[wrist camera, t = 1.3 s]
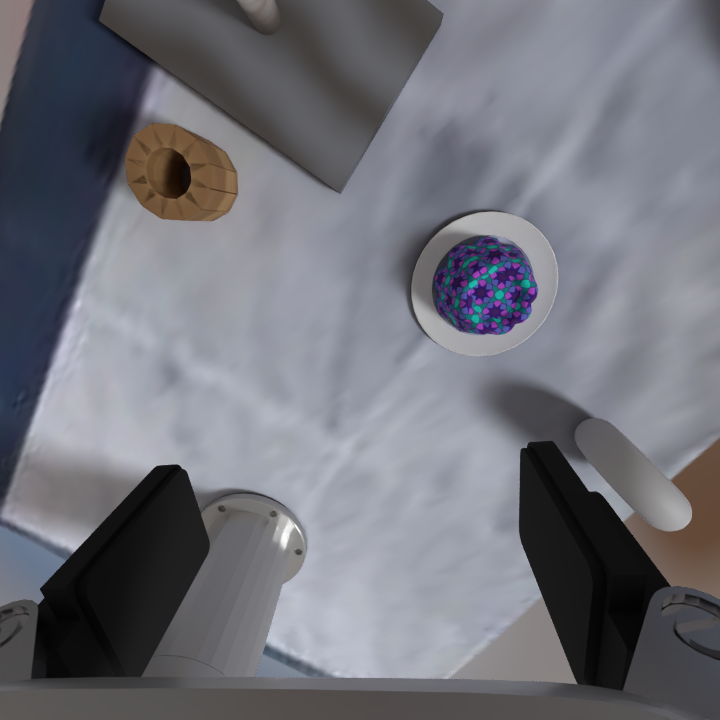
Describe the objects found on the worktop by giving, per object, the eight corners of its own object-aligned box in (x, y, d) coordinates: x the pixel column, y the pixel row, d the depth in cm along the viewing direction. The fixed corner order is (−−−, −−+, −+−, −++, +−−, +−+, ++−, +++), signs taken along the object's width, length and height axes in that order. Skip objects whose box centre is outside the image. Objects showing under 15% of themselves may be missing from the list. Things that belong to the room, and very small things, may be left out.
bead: (217, 234, 33) (188, 236, 28) (153, 192, 32) (113, 186, 27) (250, 169, 31) (225, 159, 26) (183, 122, 30) (145, 103, 25)
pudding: (504, 178, 30) (526, 169, 25) (581, 298, 33) (615, 311, 28) (382, 275, 33) (381, 284, 28) (462, 378, 36) (474, 402, 31)
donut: (548, 417, 36) (605, 484, 27) (579, 393, 35) (649, 454, 26) (613, 481, 38) (688, 566, 29) (645, 460, 37) (732, 541, 28)
